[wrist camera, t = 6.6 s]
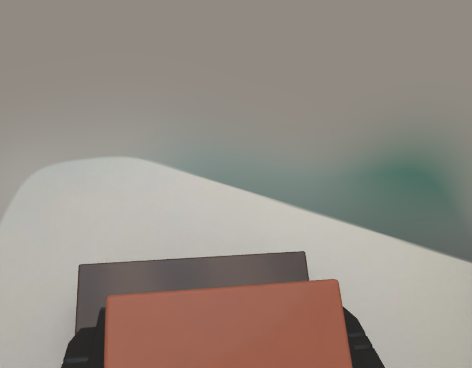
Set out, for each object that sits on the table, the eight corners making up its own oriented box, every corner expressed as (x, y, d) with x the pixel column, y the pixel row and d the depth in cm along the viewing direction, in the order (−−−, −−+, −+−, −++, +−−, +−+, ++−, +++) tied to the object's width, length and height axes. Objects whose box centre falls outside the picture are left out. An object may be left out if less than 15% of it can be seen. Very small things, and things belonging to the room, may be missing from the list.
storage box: (282, 265, 29) (305, 250, 24) (302, 437, 26) (335, 467, 20) (99, 277, 27) (78, 264, 22) (93, 464, 24) (65, 505, 18)
